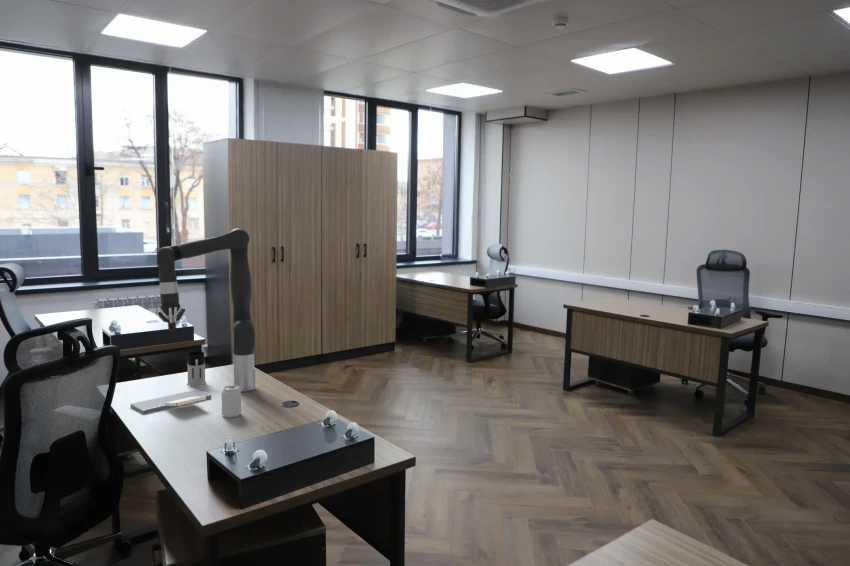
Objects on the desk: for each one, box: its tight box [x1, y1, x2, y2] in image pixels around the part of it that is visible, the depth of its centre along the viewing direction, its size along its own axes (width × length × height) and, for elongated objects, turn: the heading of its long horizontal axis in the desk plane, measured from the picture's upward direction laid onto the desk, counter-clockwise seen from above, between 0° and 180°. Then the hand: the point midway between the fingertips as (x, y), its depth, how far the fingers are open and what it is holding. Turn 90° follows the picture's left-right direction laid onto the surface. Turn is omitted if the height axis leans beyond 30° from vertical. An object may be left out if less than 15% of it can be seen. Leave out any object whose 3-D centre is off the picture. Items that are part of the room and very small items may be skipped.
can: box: [221, 384, 242, 419], centre depth 244 cm, size 8×8×12 cm
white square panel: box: [165, 397, 207, 407], centre depth 250 cm, size 12×1×12 cm
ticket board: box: [130, 388, 212, 415], centre depth 258 cm, size 30×12×2 cm, turn 138°
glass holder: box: [186, 351, 207, 387], centre depth 283 cm, size 9×14×15 cm, turn 23°
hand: (172, 331), depth 265 cm, fingers closed
